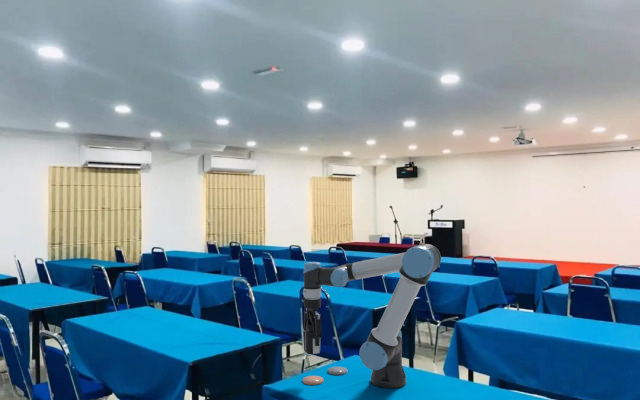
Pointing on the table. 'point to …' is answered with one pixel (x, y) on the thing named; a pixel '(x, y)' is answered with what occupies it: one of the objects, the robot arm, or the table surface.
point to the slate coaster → (337, 370)
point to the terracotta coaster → (312, 380)
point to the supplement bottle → (309, 339)
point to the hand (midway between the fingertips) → (312, 350)
